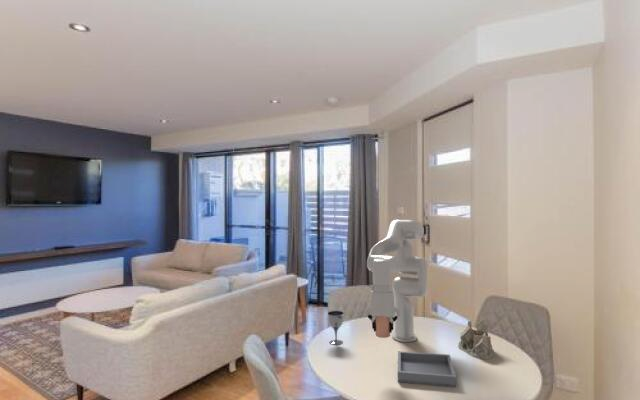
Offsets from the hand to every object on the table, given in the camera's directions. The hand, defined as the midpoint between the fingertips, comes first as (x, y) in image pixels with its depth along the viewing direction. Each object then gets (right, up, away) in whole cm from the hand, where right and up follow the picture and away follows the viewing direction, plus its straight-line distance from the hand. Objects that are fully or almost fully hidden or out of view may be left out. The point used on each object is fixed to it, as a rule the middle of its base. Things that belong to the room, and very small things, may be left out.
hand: (382, 330), depth 153 cm
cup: (0, -2, 0) cm, 2 cm away
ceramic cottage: (+47, -17, +19) cm, 53 cm away
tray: (+17, -17, -2) cm, 24 cm away
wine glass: (-18, -18, +32) cm, 41 cm away
